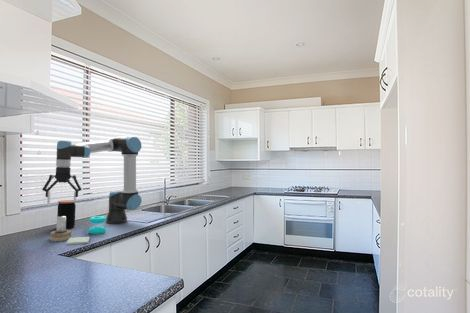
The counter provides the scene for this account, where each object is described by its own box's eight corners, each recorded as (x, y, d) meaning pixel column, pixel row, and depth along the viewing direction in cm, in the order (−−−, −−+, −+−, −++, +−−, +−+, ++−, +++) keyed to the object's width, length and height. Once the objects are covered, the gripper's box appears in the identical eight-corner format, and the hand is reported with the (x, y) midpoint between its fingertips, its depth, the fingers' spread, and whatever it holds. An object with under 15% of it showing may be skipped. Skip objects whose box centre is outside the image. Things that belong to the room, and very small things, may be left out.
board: (90, 238, 183) (90, 236, 183) (88, 243, 173) (88, 241, 173) (69, 239, 179) (69, 237, 179) (66, 244, 169) (66, 242, 169)
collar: (72, 235, 187) (72, 229, 187) (69, 240, 177) (69, 233, 177) (52, 236, 183) (52, 230, 183) (48, 241, 174) (48, 234, 174)
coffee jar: (78, 226, 213) (79, 200, 213) (68, 229, 202) (69, 202, 202) (63, 225, 214) (64, 199, 214) (53, 228, 203) (54, 201, 203)
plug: (66, 237, 183) (66, 215, 183) (64, 239, 179) (65, 217, 179) (57, 237, 182) (57, 216, 182) (55, 240, 177) (56, 217, 177)
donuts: (100, 215, 204) (109, 217, 199) (99, 229, 204) (108, 232, 199) (86, 217, 196) (95, 219, 190) (85, 232, 196) (94, 235, 190)
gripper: (37, 166, 173) (35, 203, 172) (85, 167, 181) (84, 203, 181) (40, 166, 180) (39, 201, 180) (87, 167, 188) (85, 201, 188)
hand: (61, 202), depth 180 cm, fingers open, 13 cm apart
